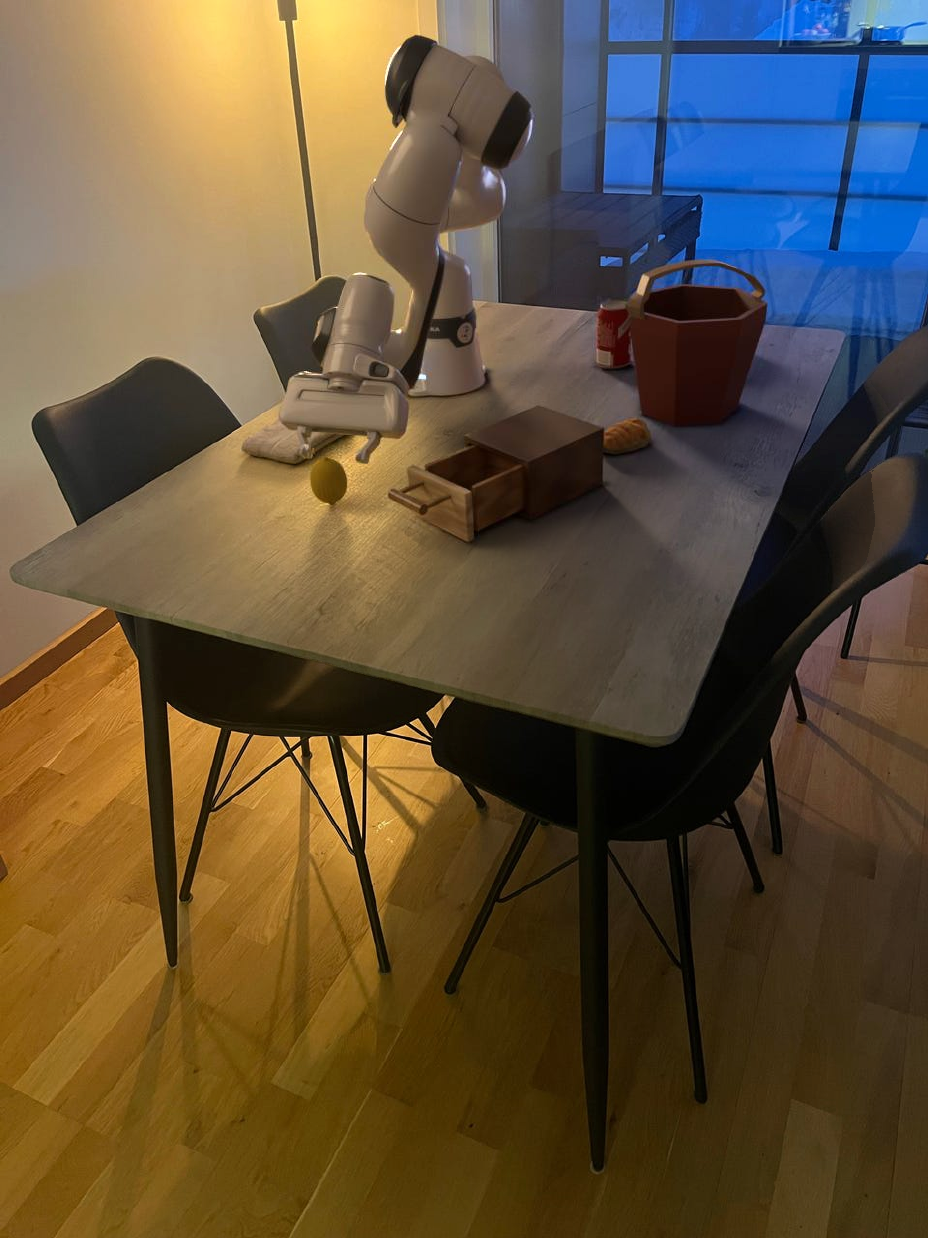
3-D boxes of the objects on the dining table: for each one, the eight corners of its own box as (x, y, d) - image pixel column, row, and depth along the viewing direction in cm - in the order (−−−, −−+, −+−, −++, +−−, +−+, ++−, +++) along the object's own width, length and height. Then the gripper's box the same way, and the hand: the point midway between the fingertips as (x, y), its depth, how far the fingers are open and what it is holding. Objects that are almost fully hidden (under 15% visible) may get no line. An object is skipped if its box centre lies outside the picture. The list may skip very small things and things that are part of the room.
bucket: (625, 434, 160) (632, 284, 146) (608, 387, 178) (612, 250, 164) (770, 426, 160) (791, 274, 145) (738, 380, 178) (753, 241, 164)
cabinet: (529, 520, 137) (528, 461, 132) (467, 491, 146) (463, 435, 141) (602, 484, 145) (604, 427, 140) (539, 458, 154) (538, 404, 149)
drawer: (436, 557, 128) (431, 509, 124) (380, 527, 136) (374, 480, 132) (541, 505, 139) (541, 459, 134) (484, 480, 147) (482, 436, 142)
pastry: (615, 461, 152) (616, 438, 150) (585, 449, 156) (585, 427, 154) (654, 443, 156) (656, 421, 154) (624, 432, 161) (625, 411, 159)
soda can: (608, 373, 185) (610, 311, 178) (589, 364, 190) (590, 303, 183) (636, 366, 187) (639, 305, 180) (617, 357, 192) (619, 297, 185)
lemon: (356, 499, 146) (350, 451, 141) (338, 515, 142) (331, 467, 137) (326, 494, 148) (319, 447, 143) (307, 510, 144) (299, 462, 139)
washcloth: (358, 428, 169) (356, 412, 167) (296, 468, 156) (293, 451, 155) (305, 418, 174) (302, 402, 173) (241, 457, 162) (238, 440, 160)
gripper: (282, 361, 145) (262, 446, 142) (405, 368, 138) (387, 457, 136) (300, 379, 150) (281, 461, 148) (419, 387, 144) (401, 472, 142)
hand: (333, 459), depth 142 cm, fingers open, 8 cm apart
